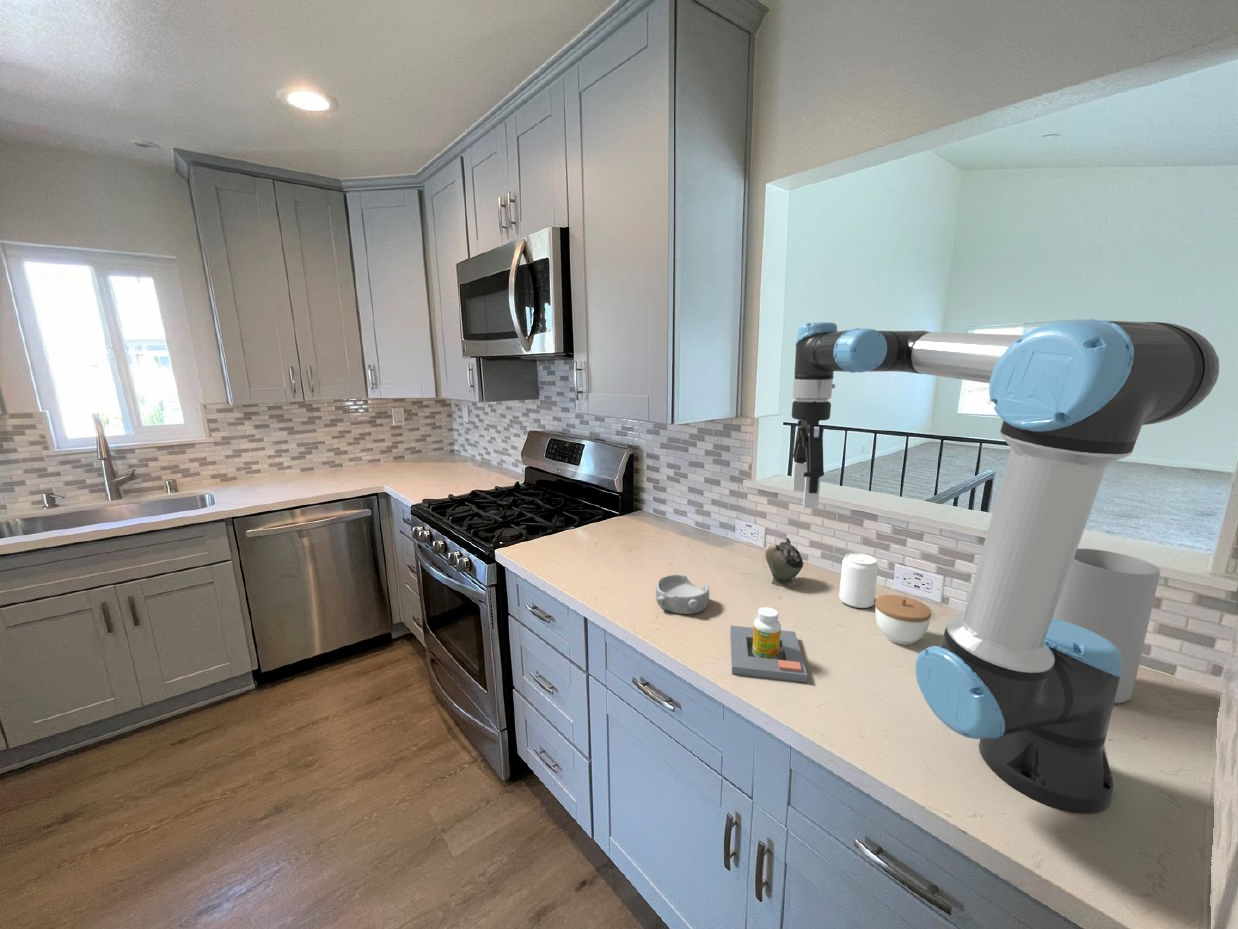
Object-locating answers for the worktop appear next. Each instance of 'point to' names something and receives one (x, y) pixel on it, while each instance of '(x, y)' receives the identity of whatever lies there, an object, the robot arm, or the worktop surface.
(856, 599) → the beverage can
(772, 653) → the supplement bottle
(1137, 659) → the cylinder vase
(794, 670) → the socket plate
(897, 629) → the lidded jar
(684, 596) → the dish
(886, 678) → the worktop surface
